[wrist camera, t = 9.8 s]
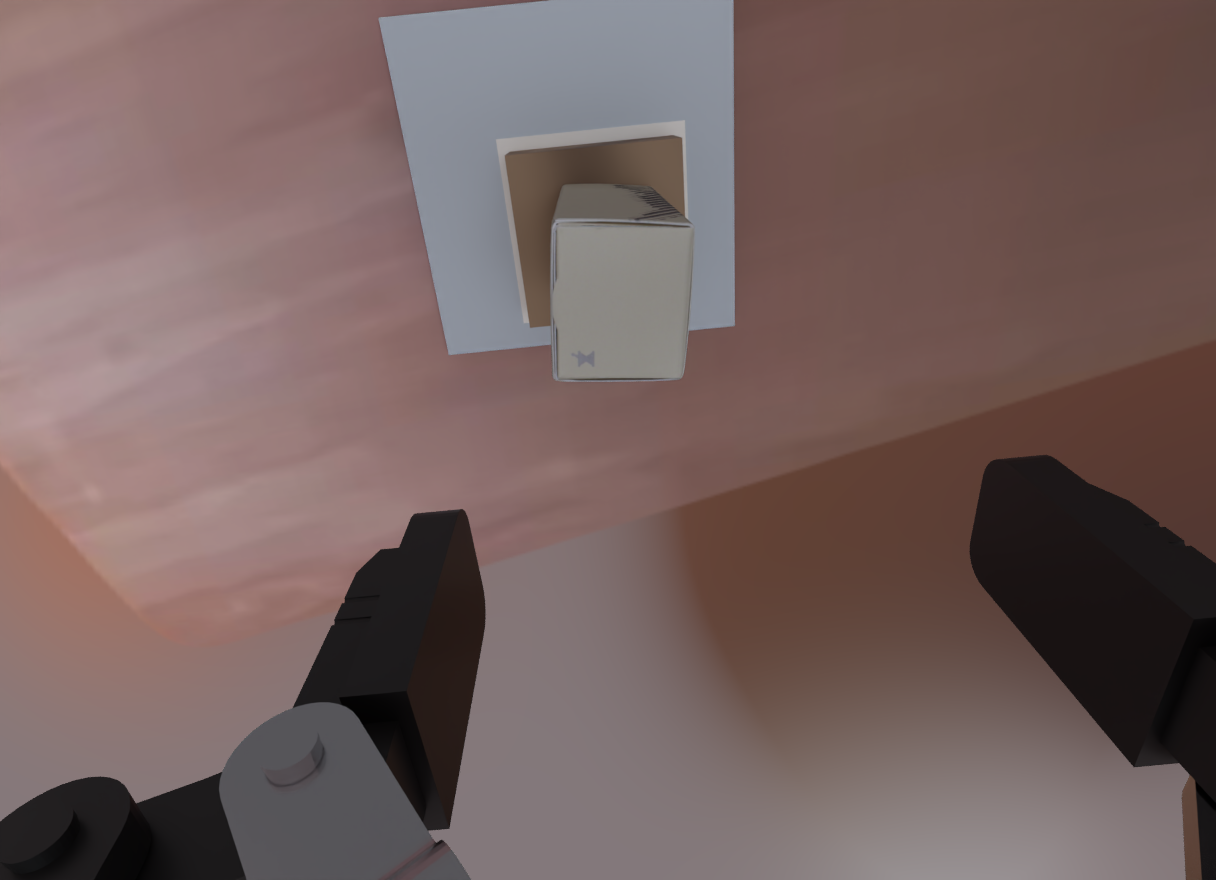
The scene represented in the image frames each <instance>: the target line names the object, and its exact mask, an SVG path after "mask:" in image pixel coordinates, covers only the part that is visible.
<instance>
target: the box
mask: <svg viewBox="0 0 1216 880" xmlns="http://www.w3.org/2000/svg"><path fill="white" fill-rule="evenodd" d="M694 248H695V227H694V225H693V224H692V223H691V222H690V221H689V220H688V219H687V218H686V217H684V216H683V215H682V214H681V213H680V212H679V211H678V210H677V209H675V208H674V207H673V206H672V205H671V204H670V203H669V202H667V201H666V200H665V199H664V198H663V197H662V196H661V195H660V194H659V193H657V191H655V190H654V189H653V188H652V187H651V186H641V185H622V184H566V185H563V186H562V188H561V191H560V195H559V198H558V201H557V205H556V209H555V212H554V216H553V219H552V224H551V243H550V319H551V355H552V377H553V379H554V380H556V381H563V382H633V381H667V380H679V379H681V378H682V377H683V374H684V368H685V361H686V353H687V342H688V334H689V323H690V313H691V300H692V286H693V268H694Z"/></svg>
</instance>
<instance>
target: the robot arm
mask: <svg viewBox="0 0 1216 880" xmlns="http://www.w3.org/2000/svg"><path fill="white" fill-rule="evenodd" d="M970 559H971V564H972V568H973V570H974V573H975V575H976V577H977V579H978V581H979V583H980V584H981V585H982V587H983V588H984V589H985V590H986V591H987V593H988V594H989V595H990V596H991V597H992V598H993V600H994V601H995V602H996V603H997V604H998V606H999V607H1000V608H1001V609H1002V610H1003V612H1004V613H1005V614H1006V615H1007V616H1008V618H1009V619H1010V620H1011V621H1012V622H1013V624H1014V625H1015V626H1016V627H1017V628H1018V629H1019V631H1020V632H1021V633H1022V634H1023V635H1024V637H1025V638H1026V639H1027V640H1028V641H1029V643H1030V644H1031V645H1032V646H1033V647H1034V648H1035V650H1036V651H1037V652H1038V653H1039V654H1040V656H1041V657H1042V658H1043V659H1044V661H1046V663H1047V664H1048V665H1049V666H1050V668H1051V669H1052V670H1053V671H1054V672H1055V674H1056V675H1057V676H1058V677H1059V678H1060V680H1061V681H1062V682H1063V683H1064V684H1065V685H1066V687H1067V688H1068V689H1069V690H1070V691H1071V693H1072V694H1073V695H1074V696H1075V697H1076V699H1077V700H1078V701H1079V702H1080V703H1081V704H1082V706H1083V707H1084V708H1085V709H1086V710H1087V712H1088V713H1089V714H1090V715H1091V716H1092V718H1093V719H1094V720H1095V721H1096V723H1097V724H1098V725H1099V726H1100V727H1101V729H1102V730H1103V731H1104V732H1105V733H1106V734H1107V736H1108V737H1109V738H1110V739H1111V740H1112V742H1113V743H1114V744H1115V745H1116V746H1117V748H1118V749H1119V750H1120V751H1121V752H1122V754H1123V755H1124V756H1125V757H1126V758H1127V759H1128V761H1129V762H1130V763H1131V764H1132V765H1133V766H1134V767H1142V766H1152V765H1163V764H1173V763H1180V764H1181V765H1182V767H1183V768H1184V769H1185V770H1186V771H1187V772H1188V773H1189V774H1190V775H1189V778H1188V780H1187V782H1186V784H1185V786H1184V788H1183V791H1182V814H1183V835H1184V855H1185V873H1186V880H1216V563H1214V562H1213V561H1212V560H1210V559H1209V558H1207V557H1206V556H1205V555H1203V554H1202V553H1200V552H1199V551H1197V550H1196V549H1195V548H1194V547H1192V546H1185V544H1184V540H1182V539H1181V538H1180V537H1178V536H1177V535H1175V534H1174V533H1173V532H1171V531H1170V530H1169V529H1167V528H1166V527H1160V526H1159V522H1157V521H1156V520H1155V519H1153V518H1152V517H1150V516H1149V515H1148V514H1146V513H1145V512H1144V511H1142V510H1141V509H1139V508H1138V507H1137V506H1135V505H1134V504H1132V503H1131V502H1130V501H1128V500H1126V499H1123V498H1121V497H1119V496H1117V495H1114V494H1112V493H1110V492H1107V491H1105V490H1103V489H1100V488H1098V487H1096V486H1094V485H1091V484H1089V483H1087V482H1086V481H1085V480H1083V479H1082V478H1080V477H1079V476H1078V475H1076V474H1075V473H1074V472H1072V471H1071V470H1070V469H1068V468H1067V467H1066V466H1064V465H1063V464H1062V463H1060V462H1059V461H1058V460H1056V459H1055V458H1053V457H1051V456H1048V455H1039V456H1028V457H1018V458H1007V459H997V460H993V461H991V462H990V463H989V464H988V465H987V467H986V469H985V471H984V474H983V479H982V484H981V489H980V494H979V500H978V505H977V510H976V515H975V521H974V525H973V530H972V536H971V541H970ZM334 621H335V624H334V625H332V626H331V628H330V630H329V632H328V634H327V636H326V638H325V641H324V643H323V645H322V647H321V649H320V651H319V654H318V655H317V658H316V660H315V662H314V664H313V666H312V668H311V670H310V672H309V675H308V677H307V679H306V681H305V683H304V685H303V687H302V689H301V691H300V694H299V696H298V698H297V700H296V702H295V704H294V706H293V708H292V709H289V710H287V711H284V712H282V713H280V714H278V715H276V716H274V717H273V718H271V719H269V720H268V721H266V722H264V723H263V724H262V725H260V726H259V727H258V728H256V729H255V730H254V731H252V732H251V733H250V734H249V735H248V736H247V737H246V738H245V739H244V740H243V741H242V742H241V743H240V744H239V746H238V747H237V748H236V749H235V750H234V752H233V753H232V755H231V756H230V758H229V759H228V761H227V763H226V765H225V767H224V769H223V772H221V773H219V774H216V775H213V776H211V777H209V778H206V779H204V780H201V781H198V782H195V783H192V784H189V785H186V786H184V787H181V788H178V789H175V790H173V791H170V792H167V793H164V794H161V795H159V796H156V797H153V798H151V799H148V800H145V801H142V802H139V803H135V801H134V800H133V798H132V796H131V795H130V793H129V792H128V790H127V788H126V787H125V785H123V784H122V783H121V782H119V781H118V780H115V779H112V778H108V777H88V778H84V779H79V780H75V781H72V782H68V783H65V784H62V785H60V786H58V787H56V788H53V789H51V790H48V791H46V792H44V793H43V794H41V795H39V796H37V797H35V798H33V799H32V800H30V801H28V802H27V803H25V804H24V805H22V806H21V807H19V808H17V809H16V810H15V811H14V812H12V813H11V814H9V815H8V816H7V817H5V818H4V819H3V820H2V821H0V880H471V879H470V877H469V875H468V874H467V872H466V871H465V870H464V868H463V866H462V864H461V863H460V862H459V860H458V858H457V857H456V855H455V854H454V853H453V851H452V850H451V849H450V847H449V846H448V845H447V844H446V843H445V842H444V841H443V840H440V841H439V842H437V843H436V842H435V841H434V839H433V838H432V837H431V835H430V834H429V832H428V830H440V829H449V827H450V822H451V816H452V810H453V805H454V799H455V794H456V788H457V782H458V777H459V771H460V765H461V760H462V753H463V748H464V742H465V737H466V731H467V726H468V720H469V714H470V709H471V703H472V697H473V692H474V686H475V681H476V675H477V669H478V664H479V658H480V653H481V647H482V641H483V636H484V629H485V598H484V590H483V585H482V580H481V576H480V571H479V566H478V562H477V557H476V552H475V548H474V543H473V539H472V534H471V529H470V525H469V521H468V517H467V515H466V513H465V511H464V510H463V509H459V510H448V511H438V512H427V513H417V514H414V515H413V516H412V517H411V519H410V522H409V524H408V527H407V529H406V532H405V534H404V537H403V539H402V542H401V544H400V547H399V548H392V549H382V550H380V551H379V552H378V553H377V554H376V555H374V556H373V557H372V558H371V559H370V560H369V561H368V562H367V563H366V564H365V565H364V566H363V567H362V568H361V569H360V570H359V571H358V572H357V573H356V575H355V577H354V579H353V581H352V583H351V585H350V588H349V590H348V592H347V594H346V596H345V603H342V605H341V607H340V609H339V611H338V613H337V615H336V617H335V620H334Z"/></svg>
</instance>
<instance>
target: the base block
mask: <svg viewBox="0 0 1216 880" xmlns="http://www.w3.org/2000/svg"><path fill="white" fill-rule="evenodd" d="M505 162H506V169H507V176H508V183H509V190H510V196H511V203H512V210H513V217H514V223H515V230H516V237H517V244H518V250H519V257H520V264H521V271H522V277H523V284H524V291H525V298H526V304H527V311H528V318H529V325H530V328H534V327H544V326H551V319H550V243H551V224H552V219H553V216H554V212H555V209H556V205H557V201H558V198H559V195H560V191H561V188H562V186H563V185H566V184H622V185H641V186H651V187H652V188H653V189H654V190H655V191H657V193H659V194H660V195H661V196H662V197H663V198H664V199H665V200H666V201H667V202H669V203H670V204H671V205H672V206H673V207H674V208H675V209H677V210H678V211H679V212H680V213H681V214H682V215H683V216H684V217H685V200H684V173H683V145H682V138H681V137H678V136H675V135H669V136H659V137H649V138H639V139H629V140H619V141H609V142H599V143H589V144H580V145H570V146H560V147H550V148H540V149H530V150H520V151H510V152H509V153H507V154H506V155H505Z"/></svg>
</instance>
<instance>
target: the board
mask: <svg viewBox="0 0 1216 880" xmlns="http://www.w3.org/2000/svg"><path fill="white" fill-rule="evenodd" d="M379 23H380V28H381V32H382V37H383V42H384V47H385V51H386V56H387V61H388V66H389V71H390V75H391V80H392V85H393V90H394V95H395V99H396V104H397V109H398V114H399V119H400V123H401V128H402V133H403V138H404V143H405V147H406V152H407V157H408V162H409V166H410V171H411V176H412V181H413V186H414V190H415V195H416V200H417V205H418V210H419V214H420V219H421V224H422V229H423V234H424V238H425V243H426V248H427V253H428V257H429V262H430V267H431V272H432V277H433V281H434V286H435V291H436V296H437V301H438V305H439V310H440V315H441V320H442V325H443V329H444V334H445V339H446V344H447V348H448V353H449V355H454V354H464V353H474V352H484V351H494V350H503V349H513V348H523V347H533V346H543V345H551V326H544V327H534V328H530V325H529V318H528V311H527V304H526V298H525V291H524V284H523V277H522V271H521V264H520V257H519V250H518V244H517V237H516V230H515V223H514V217H513V210H512V203H511V196H510V190H509V183H508V176H507V169H506V162H505V155H506V154H507V153H509V152H510V151H520V150H530V149H540V148H550V147H560V146H570V145H580V144H589V143H599V142H609V141H619V140H629V139H639V138H649V137H659V136H669V135H675V136H678V137H681V138H682V145H683V173H684V200H685V217H686V218H687V219H688V220H689V221H690V222H691V223H692V224H693V225H694V227H695V248H694V268H693V286H692V300H691V313H690V323H689V331H690V330H700V329H710V328H719V327H729V326H735V274H734V37H733V0H549V1H539V2H529V3H519V4H510V5H500V6H490V7H480V8H470V9H460V10H450V11H440V12H430V13H420V14H410V15H400V16H390V17H381V18H379Z"/></svg>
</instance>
